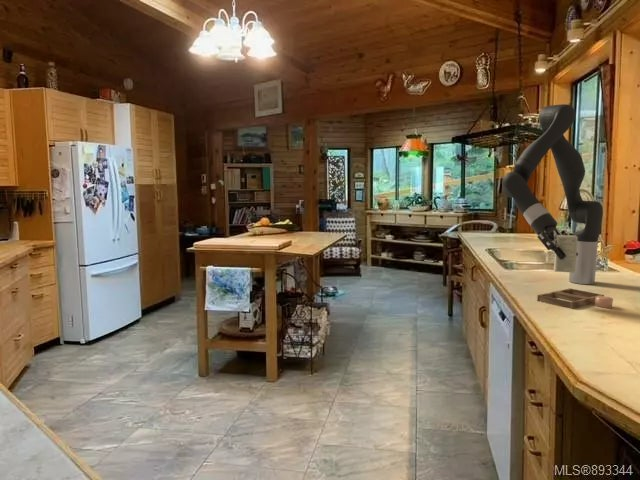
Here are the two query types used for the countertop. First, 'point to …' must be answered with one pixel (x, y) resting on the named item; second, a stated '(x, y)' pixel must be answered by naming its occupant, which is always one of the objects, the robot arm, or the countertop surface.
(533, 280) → the countertop surface
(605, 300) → the pinkish brown rounded piece
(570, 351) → the countertop surface
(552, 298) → the walnut organizer
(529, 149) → the robot arm
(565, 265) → the skincare box
